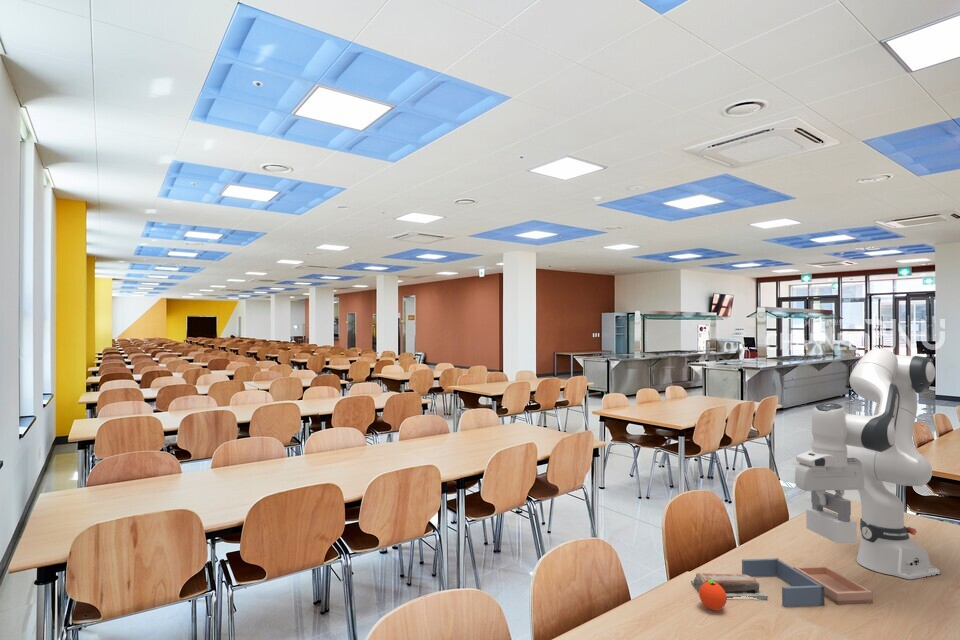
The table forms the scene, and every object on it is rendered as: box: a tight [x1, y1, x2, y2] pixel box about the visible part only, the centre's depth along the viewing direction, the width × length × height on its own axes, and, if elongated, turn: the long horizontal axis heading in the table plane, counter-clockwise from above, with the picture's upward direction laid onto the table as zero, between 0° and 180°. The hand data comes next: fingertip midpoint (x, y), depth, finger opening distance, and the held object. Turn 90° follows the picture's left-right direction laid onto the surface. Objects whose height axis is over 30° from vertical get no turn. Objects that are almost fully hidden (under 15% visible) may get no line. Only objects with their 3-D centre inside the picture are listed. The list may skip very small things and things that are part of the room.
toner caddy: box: [805, 491, 858, 545], centre depth 154 cm, size 6×12×12 cm, turn 7°
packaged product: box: [690, 572, 769, 601], centre depth 150 cm, size 18×5×10 cm
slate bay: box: [741, 558, 825, 608], centre depth 152 cm, size 12×19×5 cm, turn 6°
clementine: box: [698, 580, 728, 611], centre depth 141 cm, size 8×7×7 cm
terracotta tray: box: [793, 565, 874, 606], centre depth 153 cm, size 11×17×3 cm, turn 6°
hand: (830, 504), depth 154 cm, fingers closed on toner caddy, 2 cm apart
